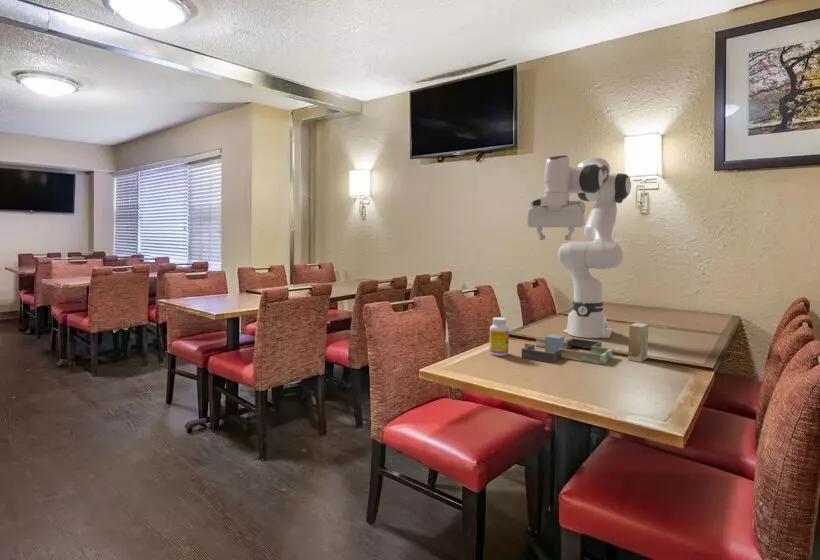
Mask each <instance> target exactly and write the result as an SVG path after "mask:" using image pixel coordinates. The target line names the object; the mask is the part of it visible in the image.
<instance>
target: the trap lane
mask: <svg viewBox="0 0 820 560" xmlns="http://www.w3.org/2000/svg"><path fill="white" fill-rule="evenodd" d="M573 346H577V347H576V348H578V347H585V348H591V349H590V352H587V351H580V350H575V349H574V350H573V349H571V348H574V347H573ZM536 347H538V348H543V349H545V338H538V337H537V338H535V343H534V344H533V343H527V342H525V343H524V347H523V348H522V349H521V358H522V359H523V358H524V359H528V360H534V361H539V362H540V361H541V362H546V363H550V364H551V363H552V364H554V363H555V362H556V361H559V360H560V359H567V360H571V361H572V360H573V361H578V362H585V363H590V364H597V365H602V366H603V365H604V364H606V363H607V362H608V361H610V360H611V359H613V352H614V351H613V348H607V347H602V341H596V340H589V339H581V338H574V337H570V338H569V339H567V340H564V349H561V348H559V349H557V350H556V351H554V352H552V353H548V352H545V351H543V350H542V351H541V350H536ZM585 348H584V349H585Z"/></svg>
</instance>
